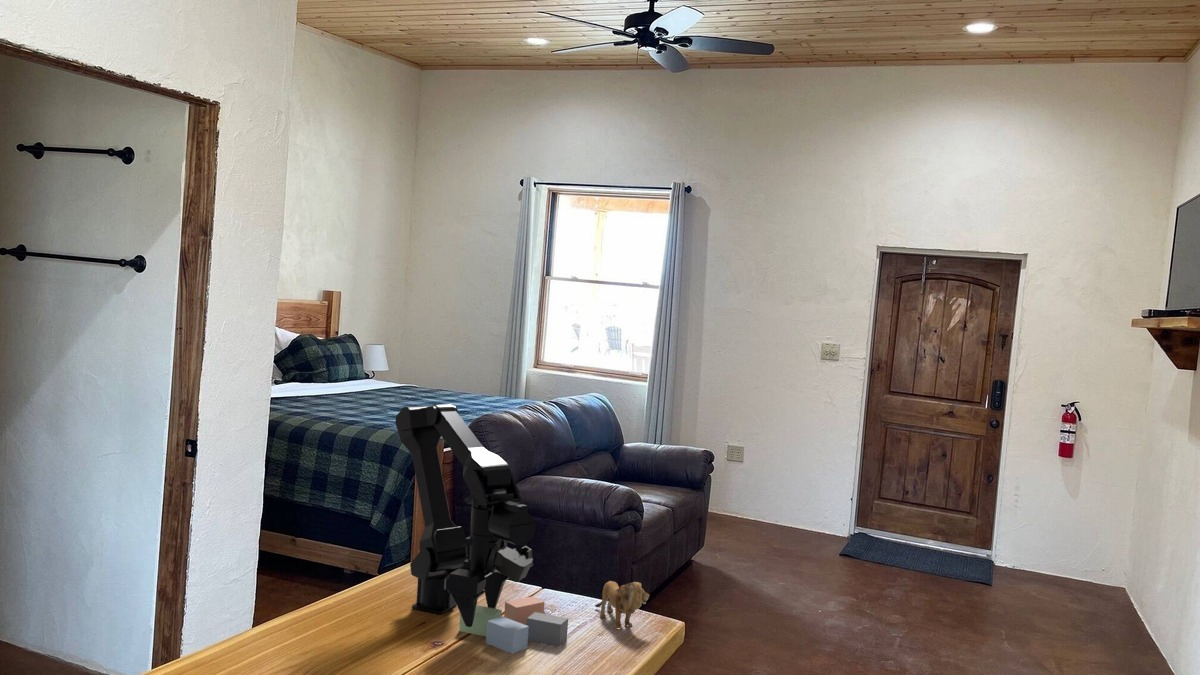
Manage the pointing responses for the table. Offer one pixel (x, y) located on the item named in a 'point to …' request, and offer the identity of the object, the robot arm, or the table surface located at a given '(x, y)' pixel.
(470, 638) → the table surface
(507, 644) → the slate blue brick
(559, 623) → the charcoal brick
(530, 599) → the terracotta brick
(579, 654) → the table surface
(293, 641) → the table surface
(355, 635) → the table surface
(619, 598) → the lion figurine
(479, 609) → the green brick
